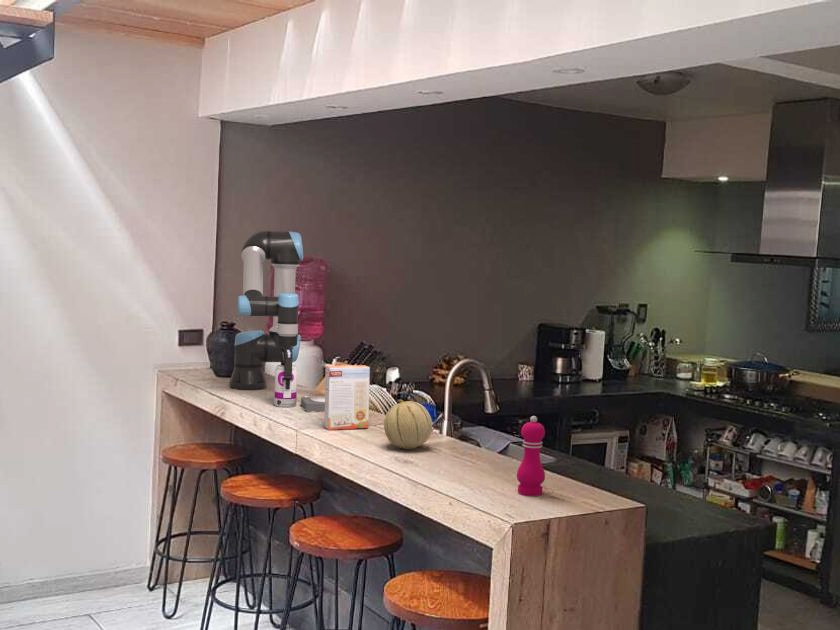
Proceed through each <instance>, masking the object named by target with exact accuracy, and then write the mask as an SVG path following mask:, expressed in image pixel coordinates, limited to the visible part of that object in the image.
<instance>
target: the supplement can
mask: <svg viewBox="0 0 840 630" xmlns="http://www.w3.org/2000/svg"><path fill="white" fill-rule="evenodd" d="M283 378H284V365H281V364H277V365H276V367H275V369H274V399H273V400H274V401H273V404H274V405H275V406H276V407H277V408H278V407H279V408H294V407H295V406H297V401H298V400H297V396H298V395H297V394H298V392H297V391H298V390H297V389H298V368H297V367H296V365H295V364H292V379H291V398H283V388H284V380H282V379H283ZM293 406H294V407H293Z"/></svg>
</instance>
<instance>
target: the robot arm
mask: <svg viewBox="0 0 840 630" xmlns="http://www.w3.org/2000/svg"><path fill="white" fill-rule="evenodd" d="M241 247H242V248H241V253H240V255H241V256H240V257H241V260H242V262H243V272H242V274H243V275H242V276H243V280H242V281H243V283H242V284H243V285H242V293H243V294H242V295H239V296H238V297H237V314H238V315H239V316H247V317H272V326H271V327H270V328H269V330H268V333H265V332H264V330H261V329H257V330H247V331H240V332H238V333H236V335H235V336H234V337H235V338H234V344H233V345H234V359H233V361H234V365H233V371H232V373H231V377H230V379H229V384H228V387H229V386H230V387H233V388H232V389H234V388H238V389H237V390H244V389H255V390H260V389H259V388H264V389H266V388H267V384H268V382H267V379H266V375H265V372H264V369H263V368H264V367H263V365H264V363H280V365H284V378H283V379H282V380H284V388H283V398H291V379H292V365H293V363H295V362H296V361H297V360H298V357H299V354H300V348H301V340H302V339H301V338H302V336H301V335H300V334H298V333H299V323H298V322H299V320H298V319H299V304H300V301H299V295H298V294H297V293H296V270H297V268H298V267H299V266H300V262H302V261H304V247H303V240H302V235H301V233H299V232H296V231H289V230H288V231H281V230H280V231H278V230H277V231H276V230H260V231H257V232H255V233H254V234H251V235H250V236H249V237H248V238H247V239H246V241H244V243H243V244H242V246H241ZM265 260H270V264H271V266H272V267H273V268H274V276H273V277H274V281H273V282H274V283H273V288H274V289H273V296H265V295H264V262H265ZM230 387H229V388H230ZM265 387H266V388H265Z"/></svg>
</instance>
